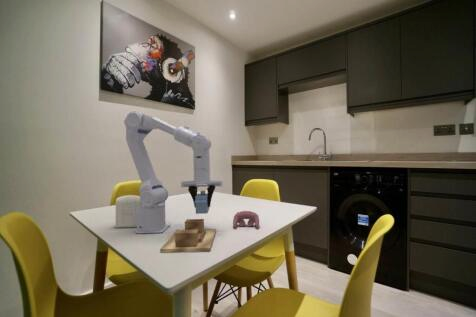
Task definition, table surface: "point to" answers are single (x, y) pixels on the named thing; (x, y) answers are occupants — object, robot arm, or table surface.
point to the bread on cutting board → (190, 238)
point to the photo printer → (127, 210)
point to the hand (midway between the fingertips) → (202, 206)
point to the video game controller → (246, 215)
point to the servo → (201, 203)
